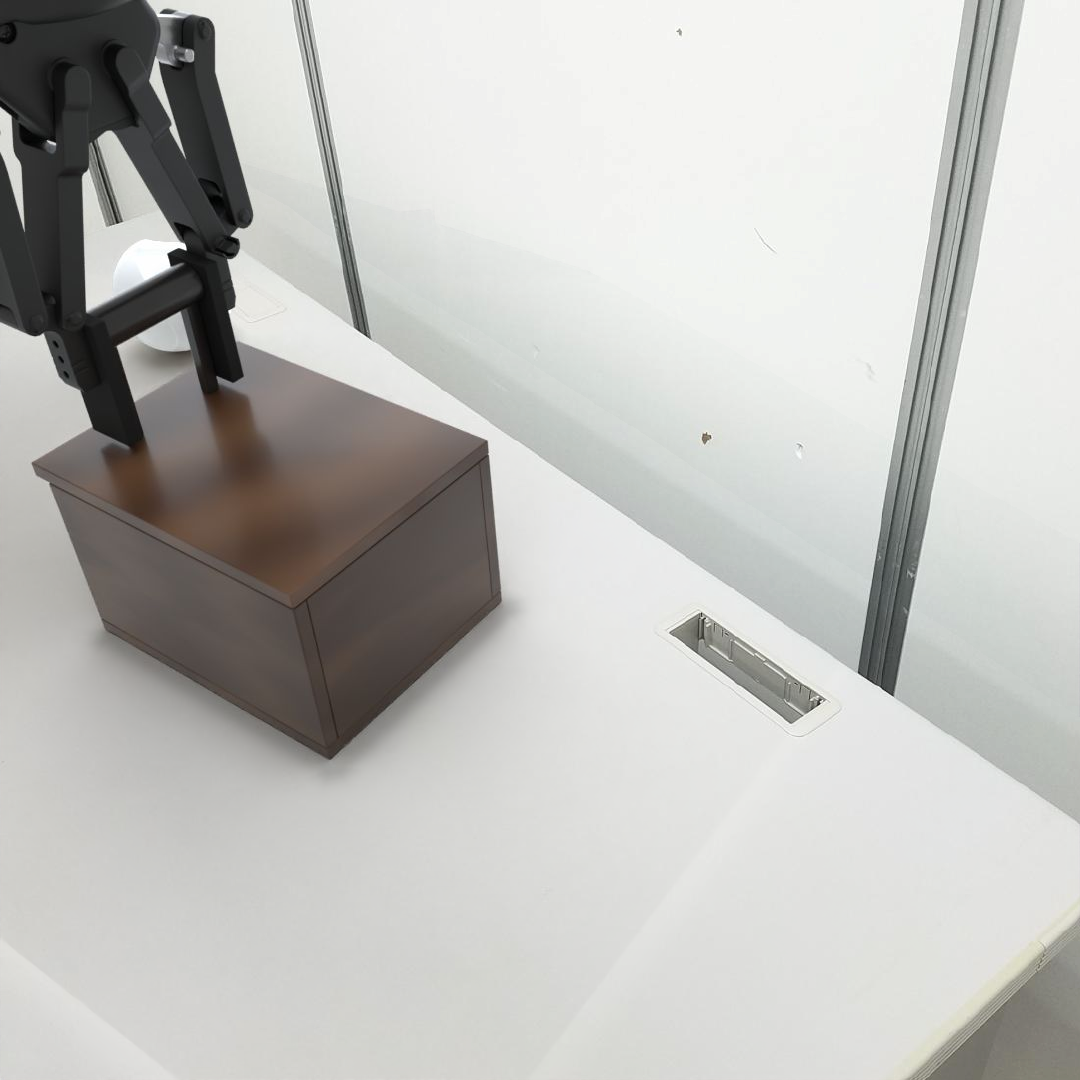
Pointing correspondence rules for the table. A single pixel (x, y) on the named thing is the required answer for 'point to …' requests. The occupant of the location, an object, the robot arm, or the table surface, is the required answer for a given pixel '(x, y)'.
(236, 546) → the compartment door
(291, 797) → the table surface
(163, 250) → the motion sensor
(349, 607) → the compartment
